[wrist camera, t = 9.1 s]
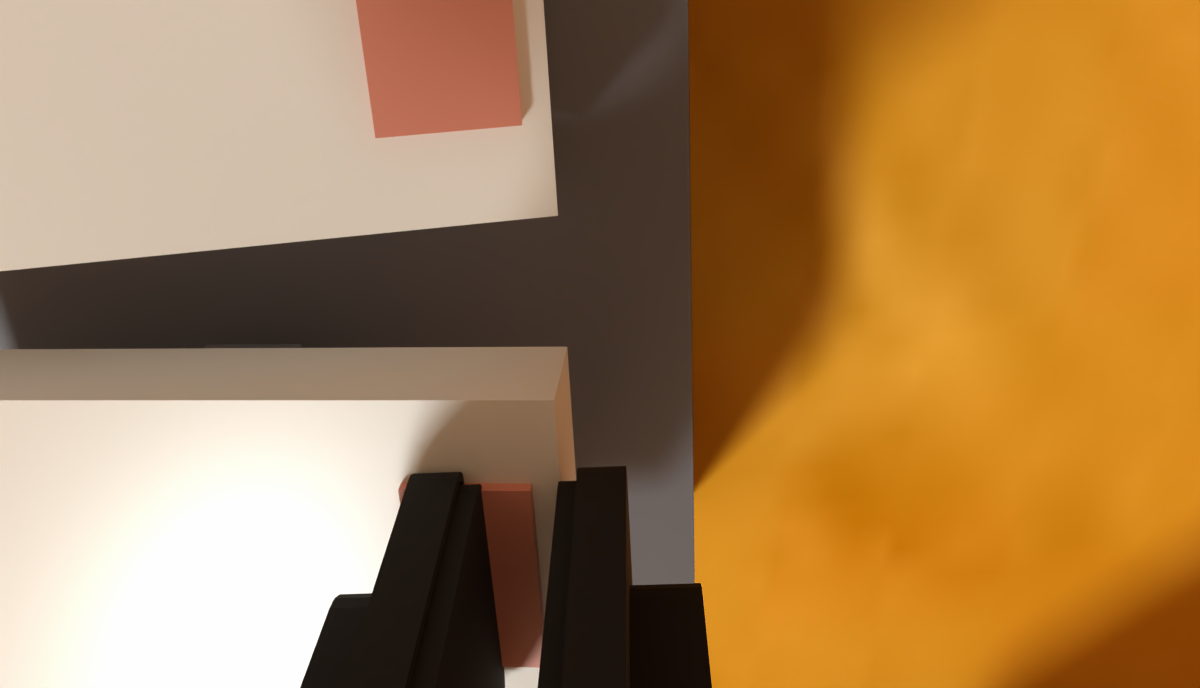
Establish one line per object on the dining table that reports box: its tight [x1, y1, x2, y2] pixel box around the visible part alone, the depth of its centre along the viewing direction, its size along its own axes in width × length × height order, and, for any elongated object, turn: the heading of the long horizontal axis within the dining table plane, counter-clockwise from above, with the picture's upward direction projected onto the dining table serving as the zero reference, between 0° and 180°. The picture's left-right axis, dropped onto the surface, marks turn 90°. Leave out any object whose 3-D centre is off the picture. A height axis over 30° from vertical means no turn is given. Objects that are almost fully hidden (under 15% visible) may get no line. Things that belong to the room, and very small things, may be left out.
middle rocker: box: [0, 0, 558, 271], centre depth 11 cm, size 4×8×2 cm, turn 93°
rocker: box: [0, 344, 576, 688], centre depth 13 cm, size 4×8×2 cm, turn 93°
